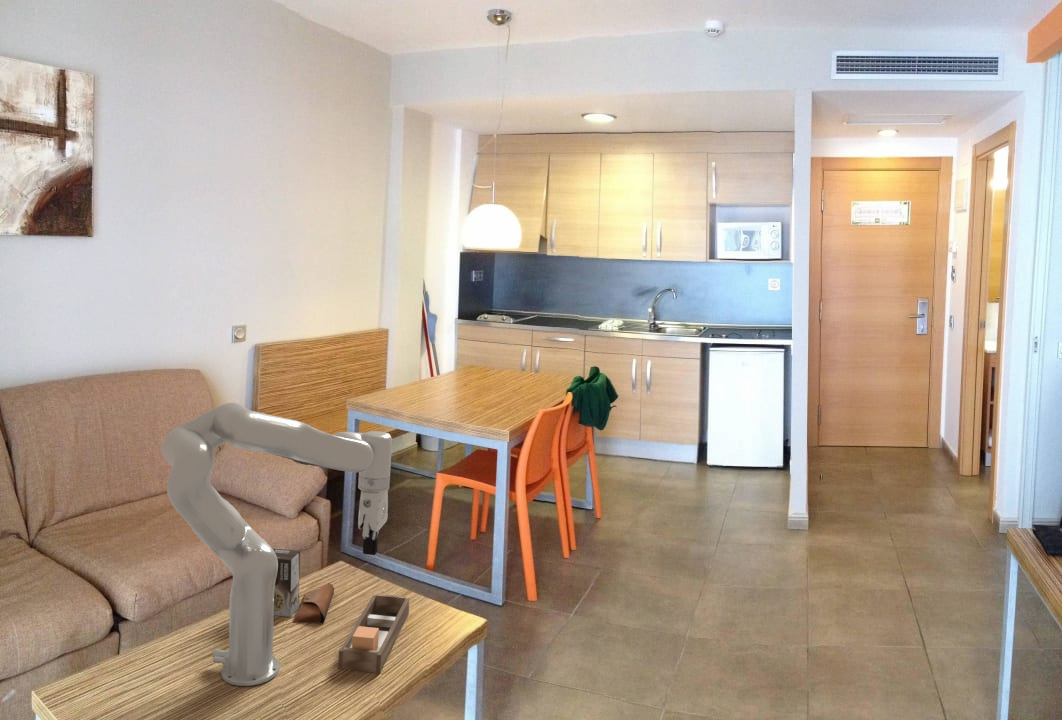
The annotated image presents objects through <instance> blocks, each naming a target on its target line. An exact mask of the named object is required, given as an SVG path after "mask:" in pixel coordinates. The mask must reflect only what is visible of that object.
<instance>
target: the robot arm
mask: <svg viewBox="0 0 1062 720" xmlns="http://www.w3.org/2000/svg"><path fill="white" fill-rule="evenodd" d="M161 443H162V444H161V454H162V456H163V459H164V460H165V461H166V462H167V464H169V465H170V467H171V469H170V472H169V476H168V478H167V484H166V486H167V487H166V492H167V493H166V494H167V497H168V500H169V502H170V504H171V506H172V507H173V508H174V509H175V510H176V512H177V513H178V514H179V515H180V516H181V517H182V518H183V520H185V522H186V523H187V524H188V525H189V526H190V529H191V530H192V532H193V533H194V534H195V535H196V536H197V538H198V539H199V540H200V541H201V542H202V543H203V544H204V545H205V546H207V547H208V548H209V550H211V551H212V553H214V554H215V555H216V556H217V558H218V559H220V561H221V562H222V563H223V564H224V565H225V566H226V567H227V568H228V570H229V571H230V572H231V574H232V584H231V588H230V594H229V607H228V608H229V609H228V610H229V619H228V620H229V622H228V623H229V624H228V625H229V628H228V629H229V630H228V631H229V633H228V649H227V650H226V649H225V650H224V649H219V648H215V649H214V650H213V651H212V658H213V659H212V663H215V664H222V665H223V666H222V668H221V674H220V675H221V678H222V679H223V681H225V682H226V683H227V684H230V685H233V686H239V687H251V686H256V685H261V684H264V683H266V682H269V681H271V680H272V679H273V678H274V677H276V676H277V675H278V673H279V671H280V662H279V660H278V659H277V657H275V656H274V650H273V649H274V621H275V620H274V619H275V618H274V616H275V615H274V589H275V581H276V576H277V571H278V560H277V556H276V554H275V552H274V550H273V549H274V548H273V547H272V546H271V545H270V544H269V543H268V542H267V541H266V540H265V539H264V538H262V537H261V536H260V535H259V534H258V533H257V532H256V531H255V530H254V529H253V527H251V525H249V523H247V521H246V520H245V519H244V518H243V517H242V516H241V514H240V512H239V511H238V510H237V509H236V508H235V507H234V506H233V505H232V504H231V503H230V502H229V501H228V500H227V499H224V497H223V496H221V494H220V493H219V492H218V491H217V489H216V488H215V487H214V486H213V485H212V483H211V475H212V472H213V470H214V467H215V466H214V465H215V462H216V454H215V451H214V450H215V449H216V448H218V447H220V446H221V445H223V444H225V443H226V444H228V445H229V446H232V447H234V448H237V449H242V450H248V451H253V452H258V453H263V454H267V455H275V456H279V457H283V458H284V457H285V458H289V459H292V460H295V461H299V462H302V463H307V464H311V465H316V466H320V467H323V468H328V469H331V470H336V471H343V472H347V473H348V472H349V473H358V485H357V488H358V489H359V490H360V498H359V505H358V506H359V507H358V516H357V517H358V519H357V520H358V521H357V526H358V527H357V528H358V529H359V530H360V531H362V535H361V536H362V538H363V540H362V541H363V544H362V554H364V555H370V556H375V555H377V553H378V548H379V547H378V544H379V533H380V529H382V527H383V526H384V525H385V524H386V523H387V521H388V516H389V513H388V512H389V510H388V509H389V489H390V482H391V465H392V452H393V451H392V448H393V437H392V436H391V434H390V433H388V432H385V431H381V430H371V431H366V432H353V431H339V432H335V433H333V434H331V433H328V432H325V431H323V430H320V429H318V428H315V427H313V426H311V425H309V424H308V423H305V422H302V421H299V420H296V419H291V418H286V417H282V416H278V415H272V414H267V413H264V412H259V411H254V410H250V409H249V408H247V407H245V406H243V405H242V404H240V403H237V402H228V403H224V404H221V405H219V406H217V407H214V408H212V409H211V410H208V411H206V412H204V413H202V414H200V415H198V416H197V417H194V418H193V419H191V420H189V421H186V422H185V423H183V424H181V425H179V426H177V427H176V428H174V429H172V430H171V431H170V432H169V433H167V435H166V436H165V437H164V439H163V440H162V442H161ZM272 548H273V549H272Z"/></svg>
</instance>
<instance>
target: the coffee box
mask: <svg viewBox="0 0 1062 720" xmlns="http://www.w3.org/2000/svg"><path fill="white" fill-rule="evenodd" d="M271 548H272V549H273V550H274V552H275V554H276V556H277V560H278V571H277V576H276V581H275V589H274V616H277V617H287V618H291V617H292V616H293V615H294V614H295V613H297V611H298V610H299V607H300V579H301V578H300V572H301V571H300V569H301V568H300V567H301V566H300V565H301V564H300V563H301V550H294V549H293V550H291V549H283V548H282V549H281V548H273V547H271Z"/></svg>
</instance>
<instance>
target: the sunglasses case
mask: <svg viewBox="0 0 1062 720" xmlns="http://www.w3.org/2000/svg"><path fill="white" fill-rule="evenodd" d="M334 592H335V587H334V585H333V584H332V583H330V582H328V583H326V584H324V585H322V586H321V587H319V588H317V589H313V590H311V591H308V592H306V593H305V594H303V599H302V601H301V603H300V604H299V608H298V609H297V611H296V614H295V616H294V618H293V621H292V623H295V624H297V623H298V624H324V623H325V621H326V619H327V615H328V611H329V609H330V605H331V602H332V599H333V596H334V594H335V593H334Z"/></svg>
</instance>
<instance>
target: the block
mask: <svg viewBox="0 0 1062 720" xmlns="http://www.w3.org/2000/svg"><path fill="white" fill-rule="evenodd" d="M378 637H379V628H372V627H362V626H358V628H357V630H356V631H355V633H354V635H353V638H352V648H357V649H367V650H377V649H378Z"/></svg>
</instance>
